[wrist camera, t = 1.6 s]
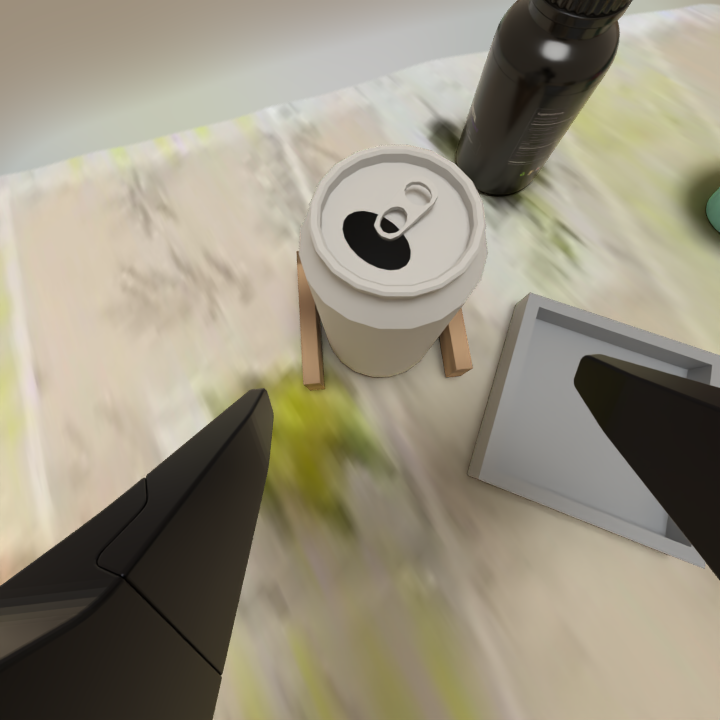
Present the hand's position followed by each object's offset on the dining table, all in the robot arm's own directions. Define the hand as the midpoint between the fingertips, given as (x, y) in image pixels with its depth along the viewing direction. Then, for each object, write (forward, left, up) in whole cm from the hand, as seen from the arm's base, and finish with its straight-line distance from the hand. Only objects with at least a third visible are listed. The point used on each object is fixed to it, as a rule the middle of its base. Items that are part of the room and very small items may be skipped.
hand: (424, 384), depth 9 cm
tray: (+4, -12, -12) cm, 18 cm away
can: (+5, +3, -12) cm, 14 cm away
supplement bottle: (+22, -1, -12) cm, 26 cm away
